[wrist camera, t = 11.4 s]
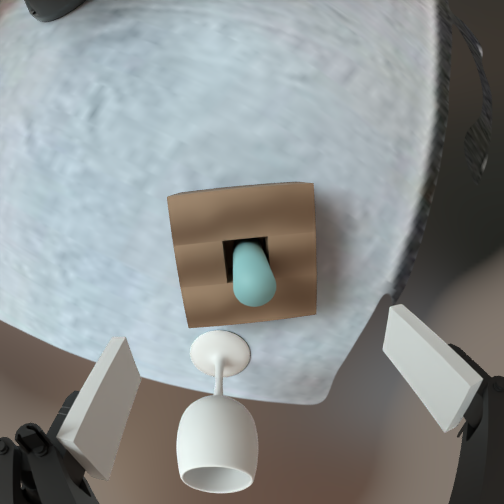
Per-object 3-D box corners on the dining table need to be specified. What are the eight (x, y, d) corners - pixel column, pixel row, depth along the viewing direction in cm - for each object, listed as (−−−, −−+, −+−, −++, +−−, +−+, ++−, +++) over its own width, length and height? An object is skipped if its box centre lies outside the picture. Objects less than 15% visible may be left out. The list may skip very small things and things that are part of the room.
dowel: (231, 235, 32) (230, 269, 20) (259, 232, 32) (274, 264, 20) (234, 262, 32) (235, 308, 21) (261, 259, 33) (277, 303, 21)
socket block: (180, 192, 32) (166, 196, 25) (296, 181, 32) (313, 183, 26) (195, 300, 36) (188, 328, 29) (301, 289, 36) (316, 314, 29)
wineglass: (209, 319, 36) (195, 449, 16) (261, 347, 38) (285, 472, 18) (180, 359, 38) (154, 480, 18) (229, 384, 40) (232, 501, 20)
